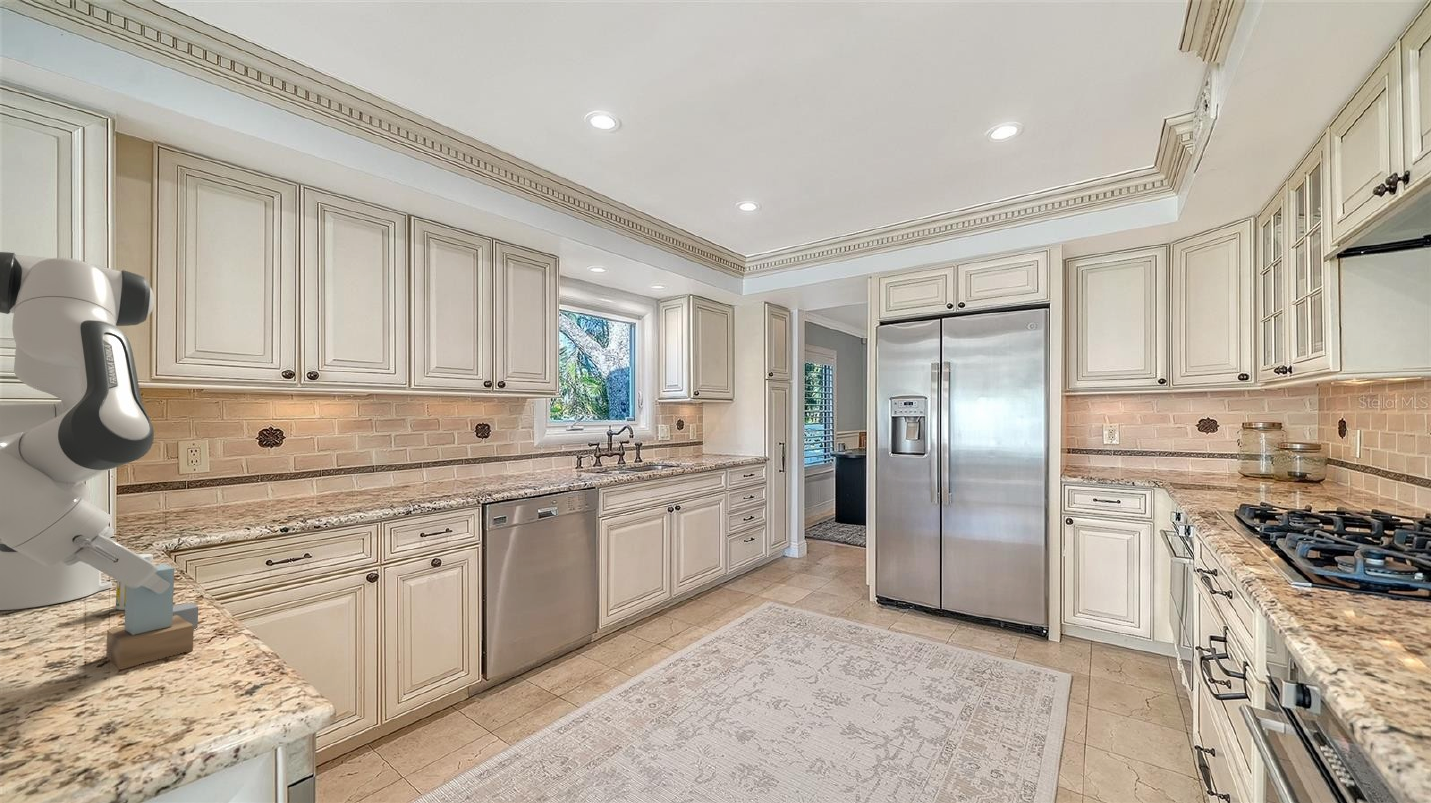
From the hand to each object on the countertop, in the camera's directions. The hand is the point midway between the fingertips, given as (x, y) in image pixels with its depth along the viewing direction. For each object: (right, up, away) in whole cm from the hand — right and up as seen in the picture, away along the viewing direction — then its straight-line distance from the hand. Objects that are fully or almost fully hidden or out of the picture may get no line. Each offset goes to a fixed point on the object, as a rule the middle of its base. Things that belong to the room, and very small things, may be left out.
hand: (158, 585), depth 88 cm
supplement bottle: (-25, -11, +20) cm, 34 cm away
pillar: (-1, -6, -1) cm, 6 cm away
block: (-5, -11, +9) cm, 15 cm away
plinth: (0, -10, -1) cm, 10 cm away
